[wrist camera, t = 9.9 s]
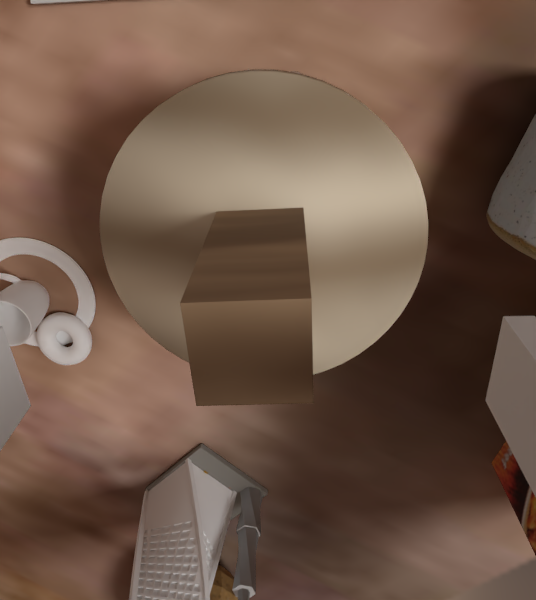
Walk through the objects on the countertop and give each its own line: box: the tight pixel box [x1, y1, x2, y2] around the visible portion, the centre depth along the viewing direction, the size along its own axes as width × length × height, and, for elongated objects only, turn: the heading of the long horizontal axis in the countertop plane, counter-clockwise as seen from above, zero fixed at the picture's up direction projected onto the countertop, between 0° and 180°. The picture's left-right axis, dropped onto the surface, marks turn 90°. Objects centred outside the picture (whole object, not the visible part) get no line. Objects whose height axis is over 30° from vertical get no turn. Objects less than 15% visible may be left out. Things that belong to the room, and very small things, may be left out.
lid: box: [100, 70, 428, 406], centre depth 19 cm, size 14×14×11 cm
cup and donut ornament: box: [0, 237, 96, 365], centre depth 31 cm, size 9×8×4 cm
